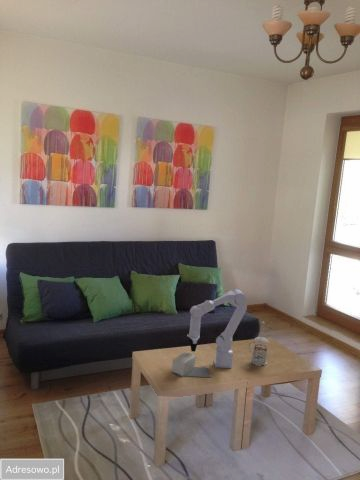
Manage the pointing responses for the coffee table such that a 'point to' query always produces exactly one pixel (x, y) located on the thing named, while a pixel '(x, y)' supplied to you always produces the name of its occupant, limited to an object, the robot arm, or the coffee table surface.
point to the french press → (259, 359)
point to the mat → (198, 372)
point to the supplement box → (183, 363)
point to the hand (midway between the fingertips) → (193, 351)
